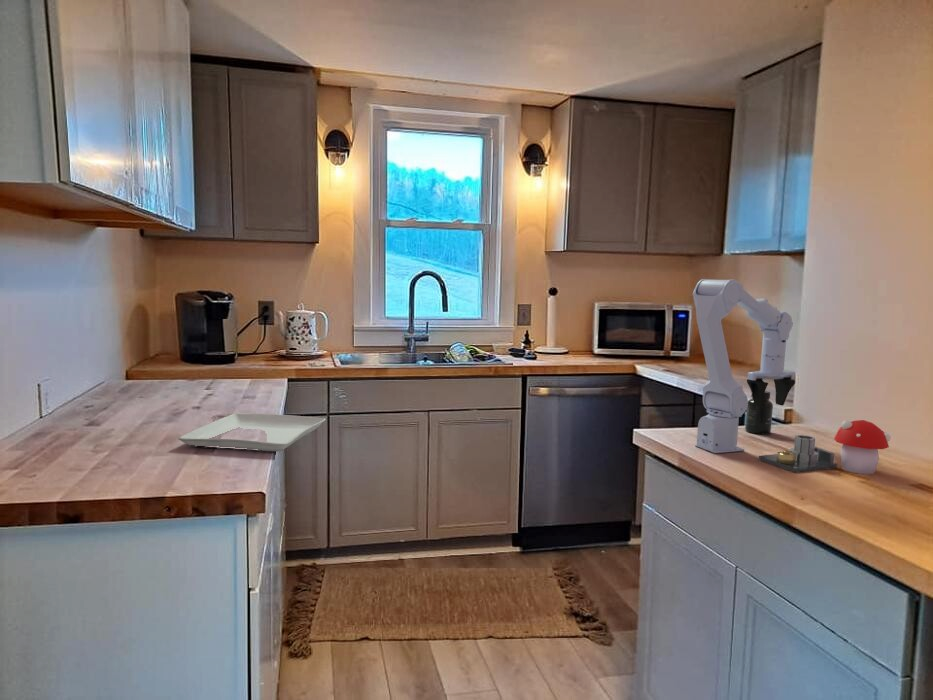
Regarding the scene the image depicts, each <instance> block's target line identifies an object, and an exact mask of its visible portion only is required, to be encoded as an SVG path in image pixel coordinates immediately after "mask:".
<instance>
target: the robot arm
mask: <svg viewBox="0 0 933 700" xmlns="http://www.w3.org/2000/svg"><path fill="white" fill-rule="evenodd" d="M692 297H693V298H692V299H693V302H694V306H695V312H696V313H695V314H696V315H695V319H696V323H697V328H698V333H699V337H700V342H701V347H702V351H703V352H702V353H703V356H704V359H705V366H706V370H707V375H708V380H707V381H706V382H705V384H704V385H703V386H702V393H703V395H702V404H703V407H704V408H705V409H706V413H707V414H706V415H704V416H702V417H700V419H699V420H698V424H697V435H696V442H695V443H694V446H695V447H698V448H700V449H703V450H705V451H709V452H711V453H714V454H723V453H733V452H744V451H745V448H744V447H740V446H738V445H737V444H738V434H739V433H738V432H739V421H740V420H739V418H740V417H741V418H742V417H743V414H745V412H747V406H748V401H749V400H748V397H747V395H746V393H745V391H744V388H743V385H741V383H740V382H738V381H737V380H736V379H735V378H734V377H733V374H732V368H731V365H730V360H729V354H728V349H727V344H726V340H725V334H724V329H723V324H722V320H723V319H724V318H726V317H728V315H729V314H730V313H731V312H732V310H734V308H735V306H736V305H737V306H738V307H740V308H742V309H743V310H745V311H746V315H747V317H748V318H749V319H750V320H752V321H754V322H755V323H756V324H758V328H759V330H760V331H761V332H762V342H761V343H762V345H761V357H760V369H759V370H756V371H750V372H747V378H746V384H747V385H748V387H749V389H750V392H751V395H752V396H753V401H754V405H755V406H758V407H762V405H763V399H764V393H765V391H767V387H768V385H769V382H766V381H764V380H773V382H774V388H775V405H778V406H784V405H785V403H786V400H787V398H788V395H789V393H790V391H791V389H793V386H794V385H795V384H796V380H795V378H796V377H795V376H796V372H795V371H792V370H785V361H786V360H785V358H786V346H787V340H789V338H790V332H791V330H792V328H793V325H794V322H793V319H792V316H791V315H790V314H789V313H787V312H786V311H780V310H779V309H778V307H776V306H773V305H772V304H770V303H769V302H768V301H769V300H768V299H767V298H755V297H754V296H752V295H751V294H750V293H749V292H748V291H746V289H744V285H743V283H740V282H739V281H738V280H736V279H733V278H731V279H708V278H702V279H699V281H698V282H697V283H696V285H695V287H694V289H693V292H692Z"/></svg>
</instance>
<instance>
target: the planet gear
mask: <svg viewBox="0 0 933 700" xmlns="http://www.w3.org/2000/svg"><path fill="white" fill-rule="evenodd" d="M815 447H816V437H814V436H810V435H805V434H795V435H794V444H793V448H789V451H790V453H793V454H795V461H796V462H798V461H799V462H802V463H817V462H818V452H816V451H814V448H815Z"/></svg>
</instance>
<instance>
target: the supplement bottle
mask: <svg viewBox="0 0 933 700" xmlns="http://www.w3.org/2000/svg"><path fill="white" fill-rule="evenodd" d="M750 396H751V398H750V399H749V400H748V406H747V409H746V411H745V412H746V414H745V415H746V416H745V428H744V429H745V431H746V432H748V433H750V432H751V434H755V433H756V434H758V435H770V434H771V432H772V421H773V409H774V404H773V402H772V401H771V400H770V399H771V392H770V391H768V390H765V393H764V399H763V405H762V407H758V406H755V405H754V401H753V396H752V394H751V395H750Z"/></svg>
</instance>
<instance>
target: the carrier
mask: <svg viewBox="0 0 933 700" xmlns="http://www.w3.org/2000/svg"><path fill="white" fill-rule="evenodd" d="M814 451H816V452H818V462H817V463H802V462H799V461H798V462H796V461H795V454H793V453H790V450H783V451H778V452H777V453H773V454H763V455H759V456H758V461H761V462H763V461H764V462H763V463H766V462H767V464H770V465H773V466H774V467H777V466H778V468H780V467H781V469H783V468H784V469H783V470H786V471H788V470H789V472H792V473H802V472H812V471H813V472H814V471H822V470H831V469H837V463H835V454H836V453H834V452H832V451H829V450H827V449H825V448H821V447H817V446H815V448H814Z"/></svg>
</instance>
